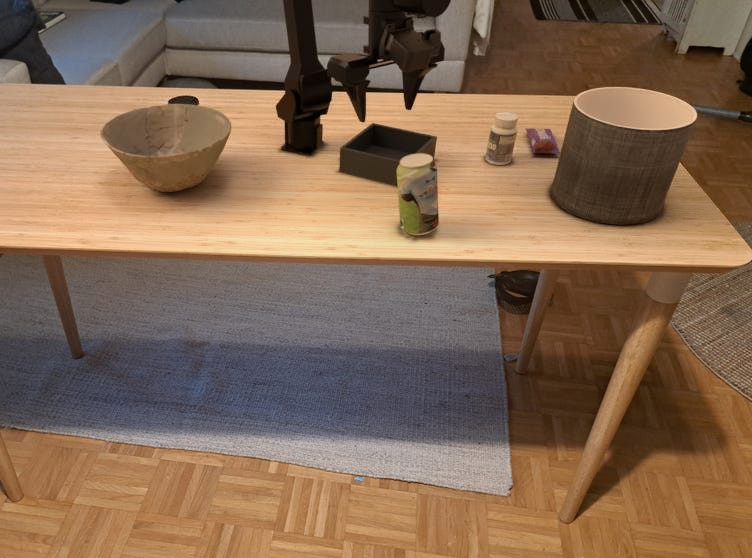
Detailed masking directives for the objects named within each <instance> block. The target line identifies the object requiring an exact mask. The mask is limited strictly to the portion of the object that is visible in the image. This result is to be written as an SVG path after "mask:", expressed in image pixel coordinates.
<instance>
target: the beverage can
mask: <svg viewBox="0 0 752 558" xmlns="http://www.w3.org/2000/svg"><path fill="white" fill-rule="evenodd" d="M437 165H438V164H437V163H436V162H435V160H434V161H433V157H432V156H431V155H428V154H423V153H417V154H411V155H407V156H405V157H403V158H402V159H401V160H400V164H399V166H398V168H397V185H398V186H397V198H398V211H399V213H398V214H399V225H400V226H399V227H400V229H401V230H402V231H404V232H405V233H407V234H409V235H412V236H423V235H427V234H430V233H431V232H432V231H433V230H435V229H436V228H437V227H438V226H439V224H440V218H439V217H440V214H439V187H438V186H439V185H438V182H439V181H438V166H437Z"/></svg>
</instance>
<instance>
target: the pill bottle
mask: <svg viewBox="0 0 752 558" xmlns="http://www.w3.org/2000/svg"><path fill="white" fill-rule="evenodd" d="M518 121H519V116H518V115H517V113H516V114H515V113H513V112H510V111H509V112H508V111H499V112H497V113H495V115H494V119H493V124H492V125H491V127H490V131H489V136H488V141H487V147H486V151H485V161H487V162H488V163H490V164H492V165H497V166H498V165H499V166H502V165H504V166H505V165H508V164H510V163H511V161H512V158H513V153H514V148H515V143H516V138H517V135H518V127H517V124H518Z"/></svg>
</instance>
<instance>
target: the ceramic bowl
mask: <svg viewBox="0 0 752 558" xmlns="http://www.w3.org/2000/svg"><path fill="white" fill-rule="evenodd" d="M231 133H232V122H231V121H230V119H229V118H228V117H227V116H226V115H225V114H224V113H223V112H221V111H220V110H217V109H214V108H212V107H209V106H203V105H198V104H190V103H167V104H161V105H152V106H149V107H142V108H136V109H133V110H130V111H126V112H124V113H121V114H118V115H116V116H115V117H114V118H112V119H110V120H109V121H108V122H106V123H105V124H104V125H103V127H102V129H101V130H100V135H99V136H100V138H101V140H102V141H103V143H104V144H105V145H106V146H107V147H108V149H109V150H110V151H111V152H112V153H113V154H114V155H115V156H116V157H117V159H118V160H119V161H120V162H121V163H122V165H124V167H125V168H126V169H127V170H128V171H129V173H130V174H131V175H132V176H133V177H134V178H135V180H137V181H138V182H139V183H141V184H142V185H143V186H145V187H147V188H149V189H151V190H154V191H158V192H163V193H171V192H172V193H173V192H178V191H182V190H185V189H190V188H193V187H195V186H197V185H199V184H200V183H201V182H202V181H204V180H205V179H206V177H207V176H208V174H210V172H211V171H212V170H213V168H214V167H215V165H216V163H217V162H218V160H219V158H220V156H221V155H222V153H223V151H224V149H225V147H226V145H227V142H228V140H229V138H230V135H231Z"/></svg>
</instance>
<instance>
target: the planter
mask: <svg viewBox="0 0 752 558" xmlns="http://www.w3.org/2000/svg"><path fill="white" fill-rule="evenodd" d="M697 119H698V112H697V110H696V109H695V108H694V107H693V106H692V105H691V104H689V103H688V102H687V101H685V100H683V99H680V98H678V97H676V96H673V95H670V94H668V93H667V94H666V93H663V92H659V91H656V90H650V89H645V88H639V87H629V86H628V87H626V86H607V87H606V86H605V87H596V88H591V89H588V90H585V91H582V92H580V93H578V94H576V96H575V97H574V98H573V101H572V104H571V109H570V113H569V117H568V121H567V125H566V128H565V134H564V137H563V141H562V146H561V149H560V154H559V157H558V161H557V165H556V169H555V173H554V177H553V181H552V184H551V187H550V196H551V199H552V200H553V202H554V203H555V204H556V205H557V206H558V207H559V208H560V209H563V210H564V211H566V212H568V213H570V214H571V215H574V216H576V217H578V218H582V219H584V220H589V221H591V222H595V223H596V222H597V223H601V224H608V225H625V226H626V225H638V224H642V223H646V222H649V221H651V220H653V219H655V218H656V217H658V216H659V215H660V214H661V212H662V210H663V207H664V204H665V201H666V199H667V198H666V197H667V196H668V193H669V190H670V188H671V186H672V183H673V180H674V178H675V175H676V172H677V170H678V168H679V165H680V164H681V163H680V162H681V160H682V157H683V155H684V153H685V150H686V148H687V145H688V143H689V140H690V136H691V134H692V133H693V129H694V127H695V124H696V122H697Z"/></svg>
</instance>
